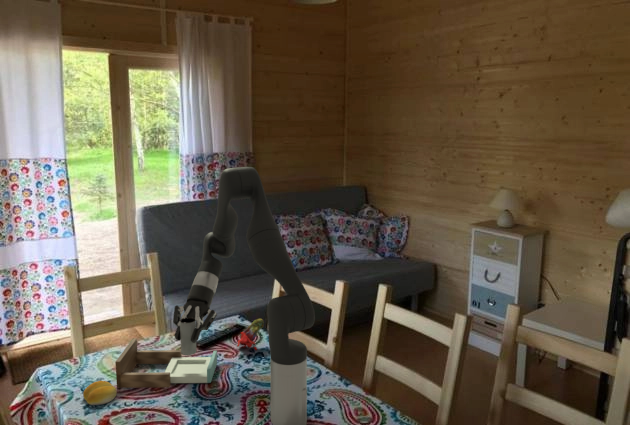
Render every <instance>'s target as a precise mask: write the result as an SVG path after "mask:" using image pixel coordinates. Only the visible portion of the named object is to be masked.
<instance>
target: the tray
mask: <svg viewBox="0 0 630 425" xmlns="http://www.w3.org/2000/svg"><path fill="white" fill-rule="evenodd" d="M217 364H218V350H213V352H212V355H211V356H208V357H207V356H205V357H204V356H203V357H201V356H200V357H197V356H196V357H195V356H194V357H193V356H191V357H188V356H186V357H183V356H182V357H172V359H171V361H170V363H169V364H167V367H165V368H166V369H165V370H164V372H170V382H171V384H211V382H212V381H213V376H214V374H215V371H216V368H217Z"/></svg>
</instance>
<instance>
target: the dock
mask: <svg viewBox="0 0 630 425" xmlns="http://www.w3.org/2000/svg"><path fill="white" fill-rule="evenodd" d="M182 355H183V354H181V349H180V350H179V349H178V350H177V349H176V350H175V349H174V350H172V349H166V350H165V349H164V350H160V349H159V350H158V349H157V350H155V349H154V350H138V338H132V339H131V341H130V342H129V343H128V345H127V346H126V347H125V348H124V350H123V351H122V352H121V353H120V355H119V356H118V357H117V359H116V360H115V376H116V377H115V378H116V379H115V380H116V389H119V388H120V389H123V388H125V389H126V388H128V389H129V388H130V389H132V388H135V389H136V388H137V389H138V388H141V389H142V388H147V389H149V388H170V387H171V384H172V383H171V382H170V372H165V371H164V372H133V370H134V369H135V367H136V366H137V365H169V363H170V361H171V359H172V357H183V356H182Z"/></svg>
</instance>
